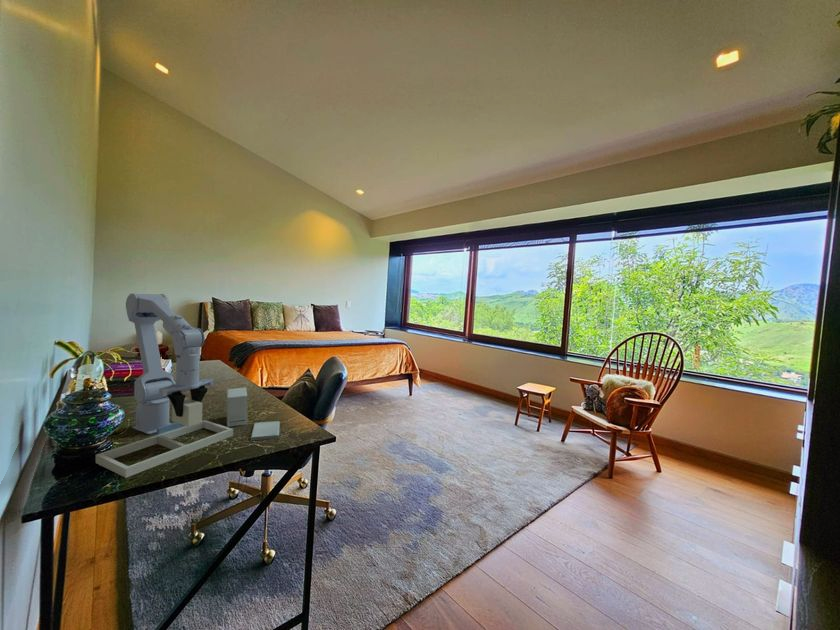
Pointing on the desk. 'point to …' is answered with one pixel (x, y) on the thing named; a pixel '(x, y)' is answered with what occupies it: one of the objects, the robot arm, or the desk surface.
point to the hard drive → (265, 430)
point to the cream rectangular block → (189, 413)
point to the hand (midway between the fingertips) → (187, 413)
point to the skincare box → (236, 407)
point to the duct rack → (165, 440)
